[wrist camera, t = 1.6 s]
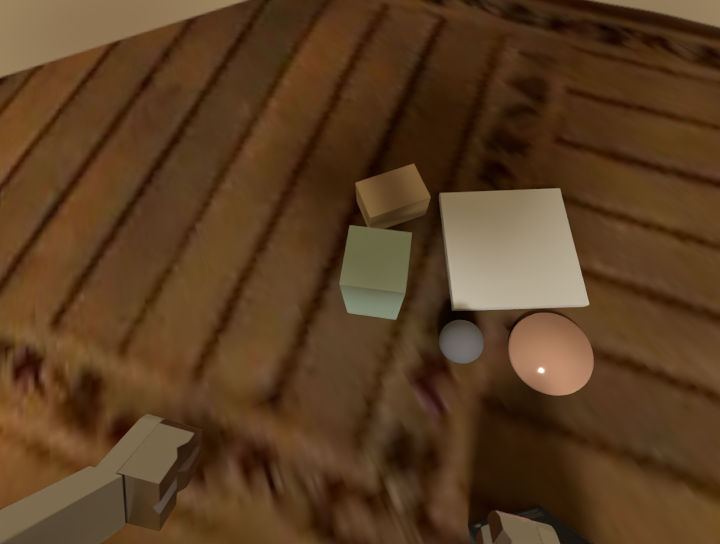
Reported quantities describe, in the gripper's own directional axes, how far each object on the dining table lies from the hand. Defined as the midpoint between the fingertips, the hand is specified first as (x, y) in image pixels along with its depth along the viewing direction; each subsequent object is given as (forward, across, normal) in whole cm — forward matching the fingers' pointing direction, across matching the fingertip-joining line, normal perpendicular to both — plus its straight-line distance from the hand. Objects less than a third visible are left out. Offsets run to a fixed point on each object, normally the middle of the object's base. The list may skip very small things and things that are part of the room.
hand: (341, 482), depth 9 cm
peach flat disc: (+21, -16, +6) cm, 27 cm away
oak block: (+29, 0, -1) cm, 29 cm away
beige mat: (+27, -12, -1) cm, 29 cm away
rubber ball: (+19, -8, +6) cm, 21 cm away
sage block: (+23, 0, +5) cm, 23 cm away
